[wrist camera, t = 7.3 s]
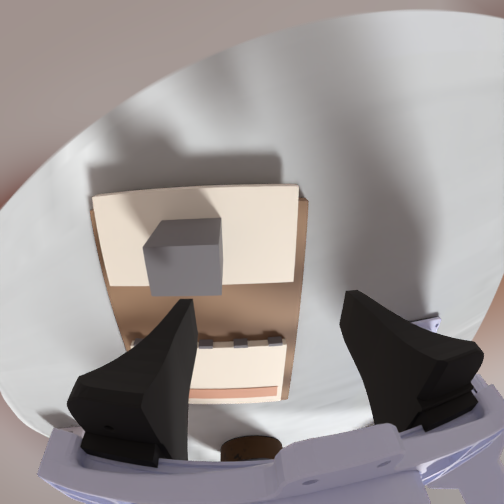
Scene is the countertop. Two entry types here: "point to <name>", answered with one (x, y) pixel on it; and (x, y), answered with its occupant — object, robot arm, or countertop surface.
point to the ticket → (237, 371)
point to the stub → (198, 237)
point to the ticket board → (221, 306)
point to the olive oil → (250, 449)
